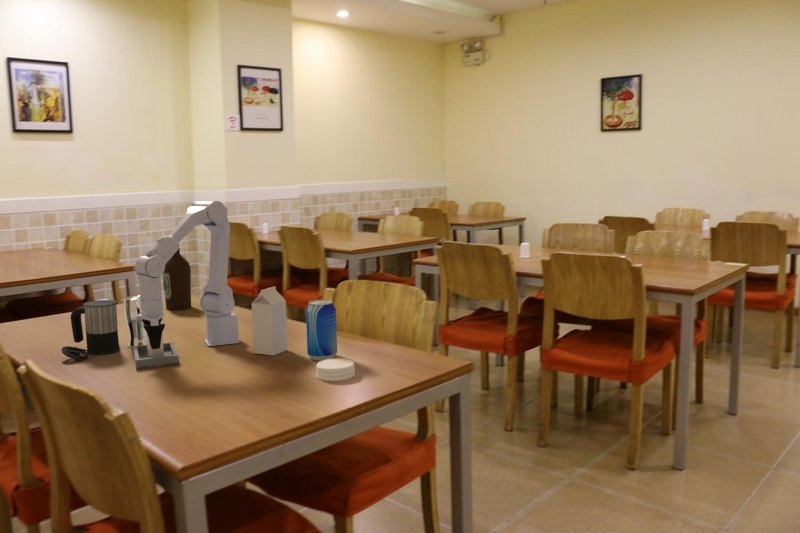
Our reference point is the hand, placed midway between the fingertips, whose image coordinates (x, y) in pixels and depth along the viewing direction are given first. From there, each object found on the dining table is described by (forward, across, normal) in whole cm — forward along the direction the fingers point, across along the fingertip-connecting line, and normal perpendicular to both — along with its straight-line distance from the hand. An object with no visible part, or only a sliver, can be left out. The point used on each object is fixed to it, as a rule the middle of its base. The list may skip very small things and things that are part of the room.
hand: (154, 345), depth 189 cm
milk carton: (+4, +7, +32) cm, 33 cm away
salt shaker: (+3, 0, 0) cm, 4 cm away
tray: (+4, 0, 0) cm, 4 cm away
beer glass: (+4, -19, -4) cm, 20 cm away
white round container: (+5, +37, +42) cm, 56 cm away
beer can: (+4, +19, +44) cm, 48 cm away
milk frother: (+4, -14, -17) cm, 22 cm away
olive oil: (+4, -73, +14) cm, 74 cm away
